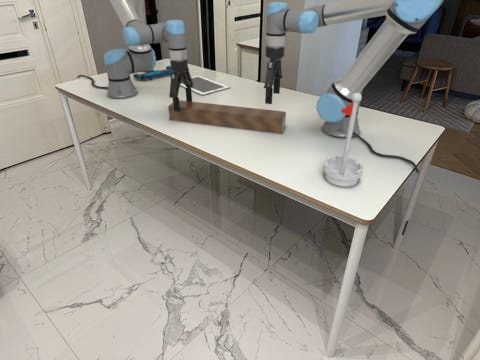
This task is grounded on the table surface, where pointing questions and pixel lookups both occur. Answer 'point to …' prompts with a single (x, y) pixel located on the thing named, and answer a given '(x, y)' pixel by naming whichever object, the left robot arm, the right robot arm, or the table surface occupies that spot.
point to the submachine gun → (153, 73)
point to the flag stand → (345, 155)
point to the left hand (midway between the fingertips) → (183, 106)
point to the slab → (229, 116)
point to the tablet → (205, 85)
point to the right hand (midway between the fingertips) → (272, 98)
